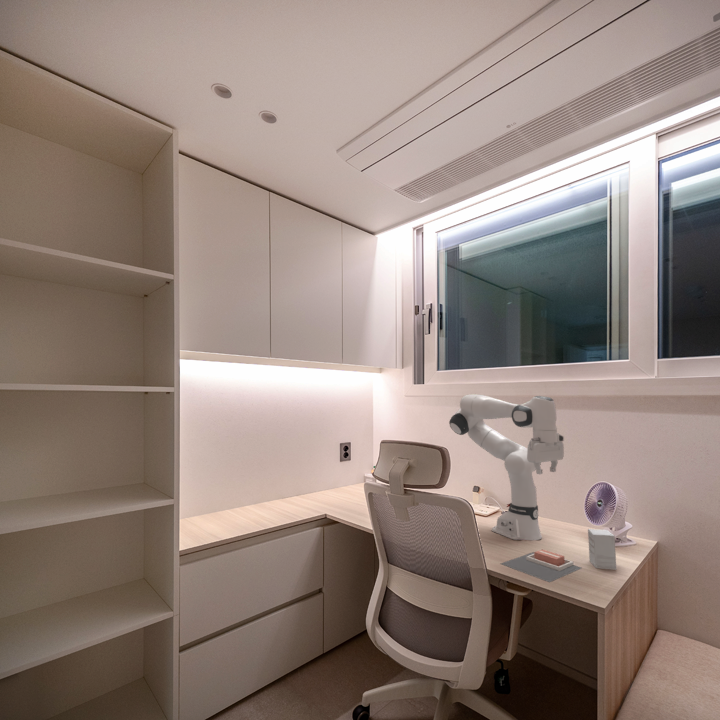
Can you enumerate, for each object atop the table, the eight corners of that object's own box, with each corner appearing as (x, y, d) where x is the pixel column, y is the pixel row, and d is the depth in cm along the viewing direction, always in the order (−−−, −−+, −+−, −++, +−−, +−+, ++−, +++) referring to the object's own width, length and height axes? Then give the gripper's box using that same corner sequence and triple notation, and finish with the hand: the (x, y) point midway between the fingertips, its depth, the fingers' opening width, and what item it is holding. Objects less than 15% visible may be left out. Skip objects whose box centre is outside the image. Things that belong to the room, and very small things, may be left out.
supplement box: (609, 563, 162) (608, 529, 163) (617, 571, 155) (615, 535, 156) (588, 561, 164) (587, 528, 165) (594, 569, 157) (593, 534, 158)
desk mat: (500, 564, 160) (499, 563, 160) (533, 553, 173) (533, 552, 173) (549, 583, 144) (549, 582, 144) (582, 568, 157) (582, 567, 157)
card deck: (564, 564, 160) (564, 556, 160) (556, 567, 157) (556, 559, 157) (542, 557, 167) (542, 549, 168) (534, 560, 164) (534, 552, 164)
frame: (526, 559, 165) (526, 556, 165) (540, 554, 170) (540, 551, 170) (559, 570, 154) (559, 567, 154) (573, 565, 159) (573, 561, 160)
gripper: (537, 439, 158) (538, 476, 157) (566, 436, 170) (567, 471, 168) (522, 437, 163) (523, 474, 162) (551, 435, 175) (552, 469, 174)
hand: (546, 472), depth 165 cm, fingers open, 8 cm apart
